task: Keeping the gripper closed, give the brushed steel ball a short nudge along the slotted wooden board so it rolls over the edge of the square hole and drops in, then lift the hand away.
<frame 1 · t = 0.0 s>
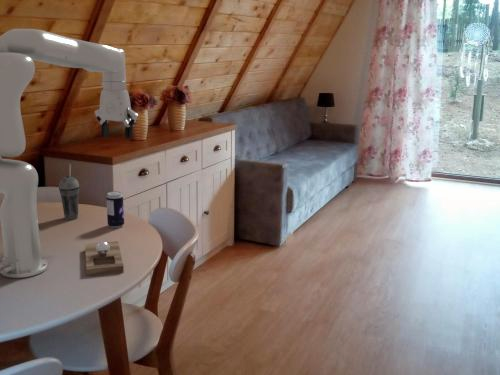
hand: (117, 137, 189), 31 cm above the table, tool pointing down, fingers open, 9 cm apart
slotted wooden board: (103, 260, 164), on the table
beverage can: (116, 226, 194), on the table
steel ball: (102, 248, 163), point 4 cm above the table, touching slotted wooden board
beverage cup: (71, 218, 202), on the table
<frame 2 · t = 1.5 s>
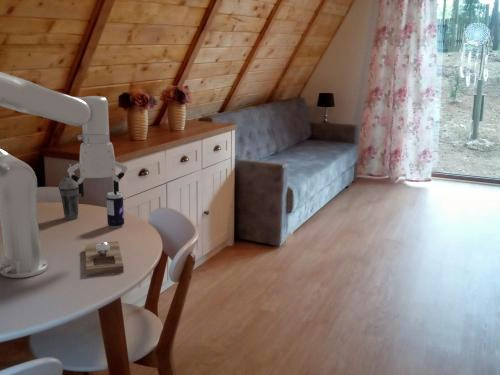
hand: (99, 194, 167), 18 cm above the table, tool pointing down, fingers open, 9 cm apart
nothing on the table moved.
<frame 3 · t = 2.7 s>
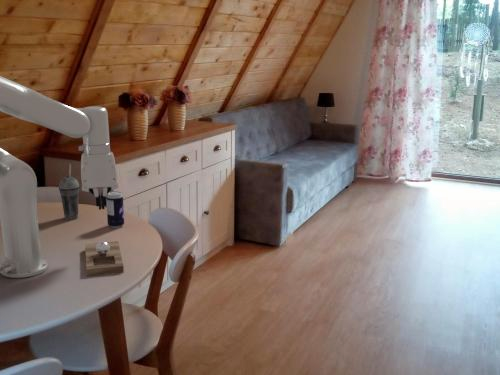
hand: (101, 208, 168), 14 cm above the table, tool pointing down, fingers closed
nothing on the table moved.
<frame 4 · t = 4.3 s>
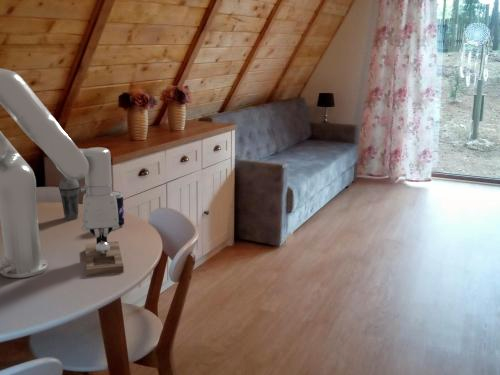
hand: (102, 247, 167), 3 cm above the table, tool pointing down, fingers closed
nothing on the table moved.
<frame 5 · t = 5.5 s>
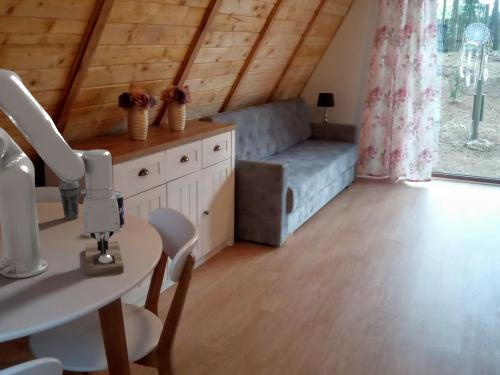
hand: (103, 252, 164), 3 cm above the table, tool pointing down, fingers closed
steel ball: (105, 260, 159), point 2 cm above the table, tilted 166°
everything else where it was.
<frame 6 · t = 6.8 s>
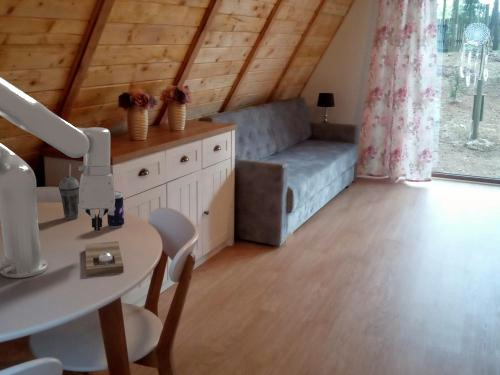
hand: (96, 229, 166), 8 cm above the table, tool pointing down, fingers closed
steel ball: (105, 259, 160), point 2 cm above the table, tilted 132°
everything else where it was.
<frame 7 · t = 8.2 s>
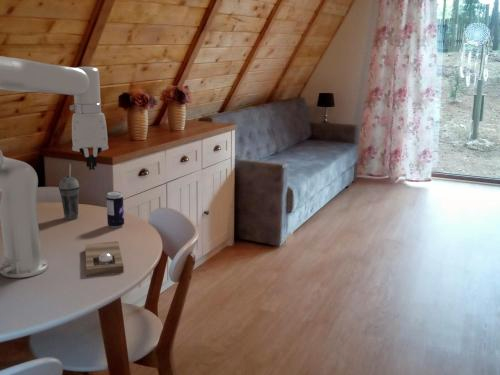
hand: (91, 168, 169), 25 cm above the table, tool pointing down, fingers closed
steel ball: (105, 259, 160), point 2 cm above the table, tilted 141°
everything else where it was.
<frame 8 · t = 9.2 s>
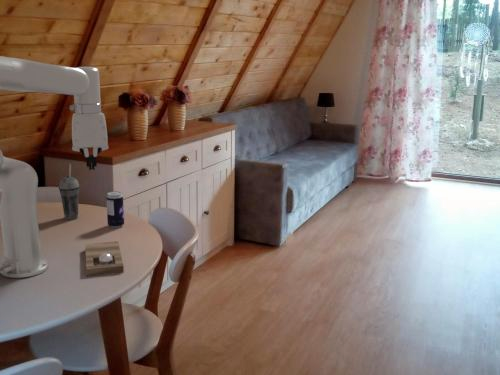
hand: (91, 168, 169), 25 cm above the table, tool pointing down, fingers closed
steel ball: (105, 260, 160), point 2 cm above the table, tilted 147°
everything else where it was.
at the end: steel ball 0.7 cm from the target spot on the slotted wooden board, point 2.0 cm above the slotted wooden board's base; steel ball moved 5.0 cm from its start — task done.
